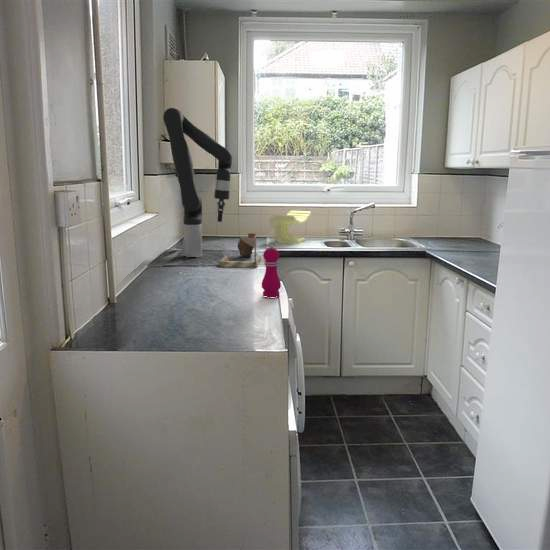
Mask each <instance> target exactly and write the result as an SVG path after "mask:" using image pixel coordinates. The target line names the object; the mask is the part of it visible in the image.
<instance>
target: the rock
mask: <svg viewBox="0 0 550 550" xmlns="http://www.w3.org/2000/svg"><path fill="white" fill-rule="evenodd" d="M237 249H238V251H239V255H240V256H241V257H242V258H251V257H252V254H253V250H254V238H248V236H240V238H239V241H238V242H237Z"/></svg>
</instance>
